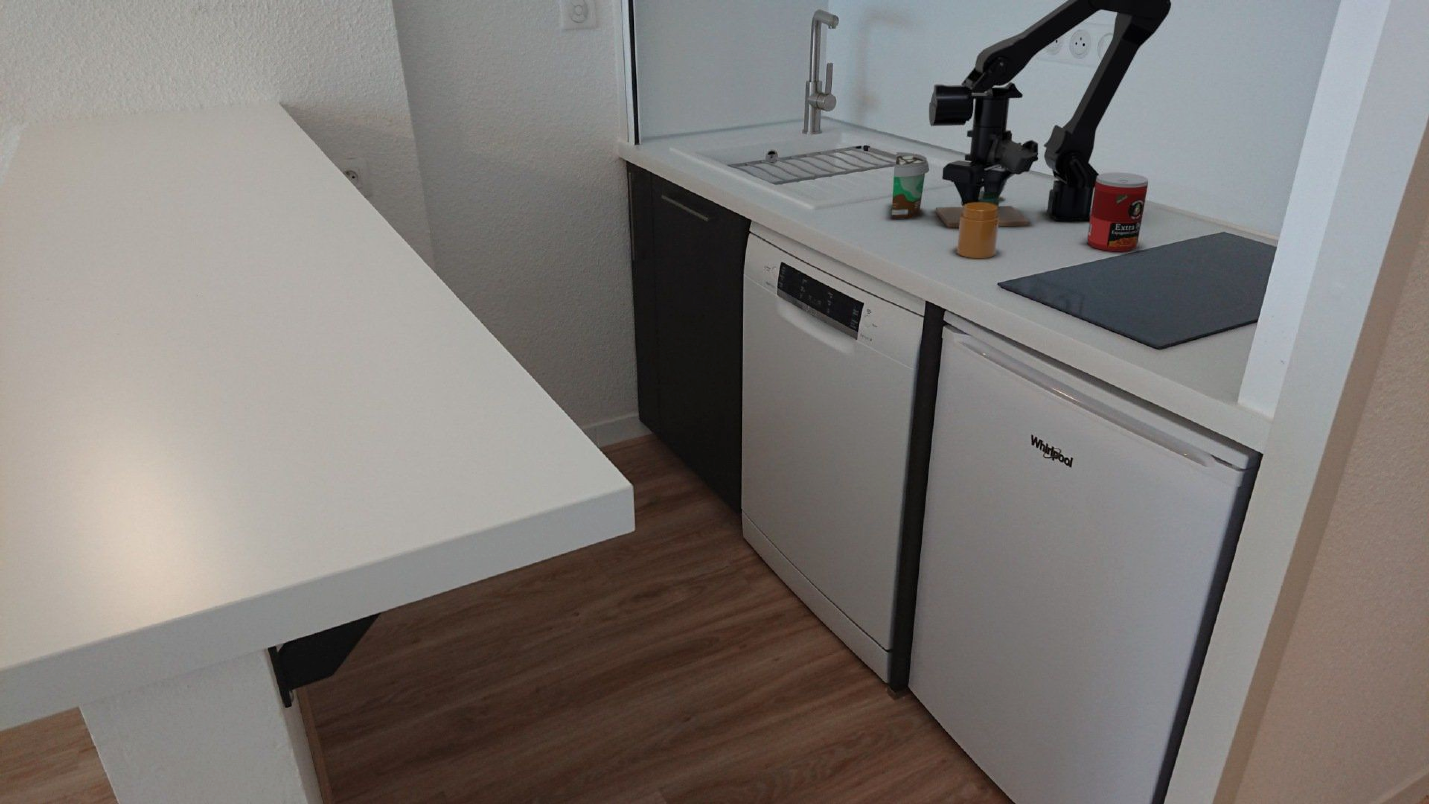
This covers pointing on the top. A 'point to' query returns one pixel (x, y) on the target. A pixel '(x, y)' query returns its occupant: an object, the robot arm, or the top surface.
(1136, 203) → the canned food
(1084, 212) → the robot arm
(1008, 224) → the cork mat
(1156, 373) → the top surface
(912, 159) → the food container
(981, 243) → the jar
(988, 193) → the lid
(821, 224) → the top surface
